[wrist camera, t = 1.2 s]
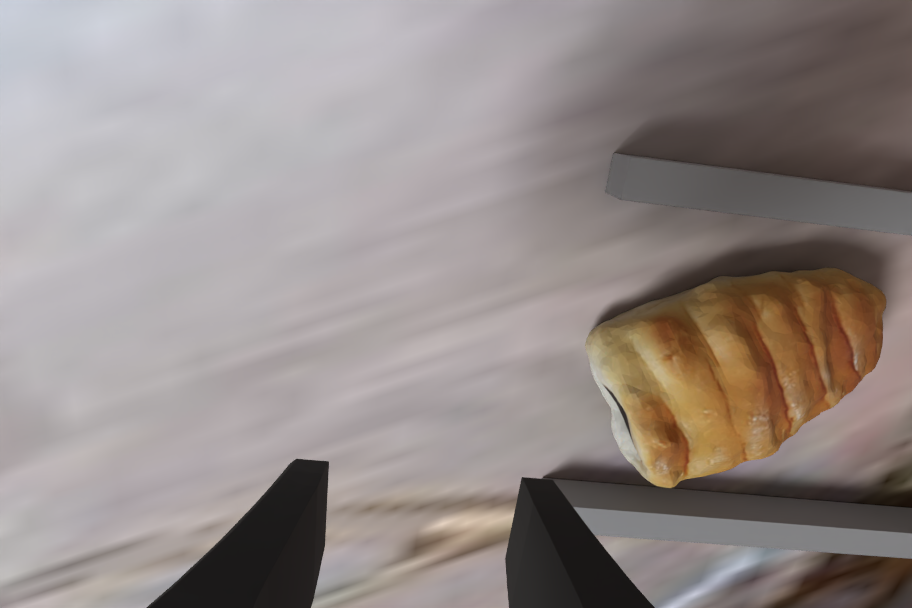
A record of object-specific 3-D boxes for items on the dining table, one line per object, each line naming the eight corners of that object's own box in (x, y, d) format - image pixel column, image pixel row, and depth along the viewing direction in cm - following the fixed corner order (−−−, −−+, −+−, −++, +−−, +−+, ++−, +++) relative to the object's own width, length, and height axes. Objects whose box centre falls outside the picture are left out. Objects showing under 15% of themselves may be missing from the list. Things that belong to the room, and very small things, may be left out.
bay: (1056, 543, 22) (1145, 605, 19) (536, 502, 21) (552, 564, 18) (1261, 236, 18) (1417, 260, 15) (613, 152, 16) (651, 162, 13)
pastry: (828, 208, 17) (931, 235, 14) (863, 371, 19) (959, 431, 16) (563, 325, 18) (594, 379, 15) (626, 467, 21) (665, 542, 17)
